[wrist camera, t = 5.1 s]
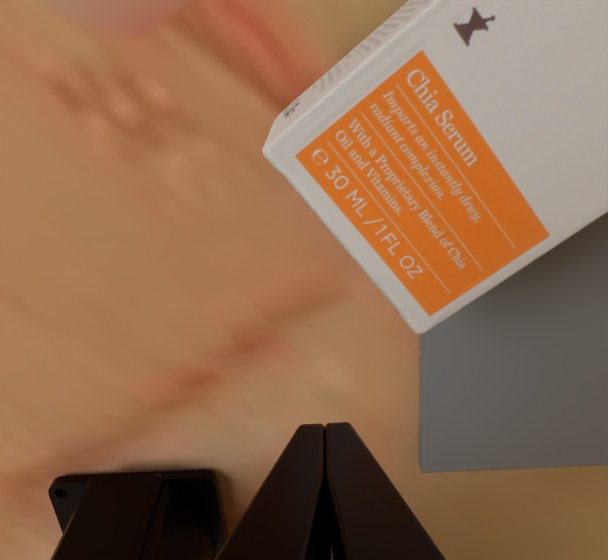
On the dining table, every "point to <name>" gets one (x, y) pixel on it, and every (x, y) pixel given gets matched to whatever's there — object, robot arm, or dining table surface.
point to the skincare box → (455, 145)
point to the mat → (523, 368)
